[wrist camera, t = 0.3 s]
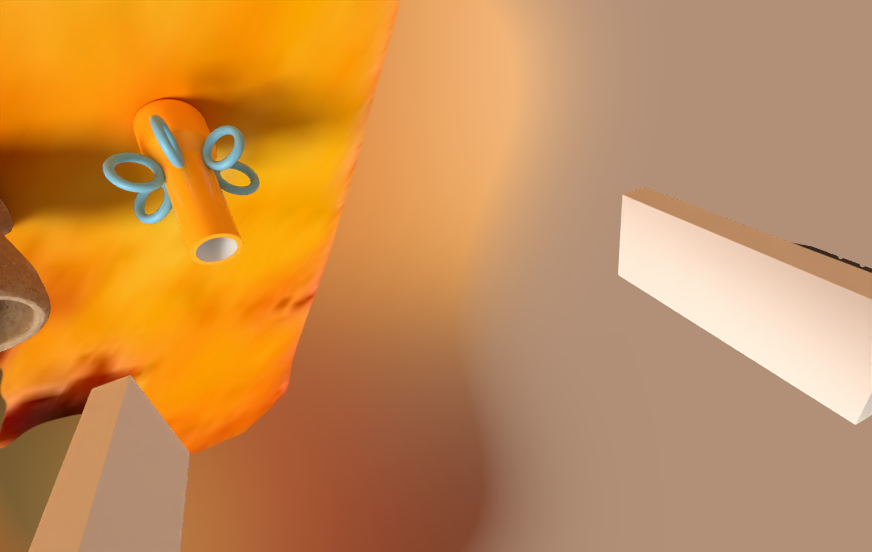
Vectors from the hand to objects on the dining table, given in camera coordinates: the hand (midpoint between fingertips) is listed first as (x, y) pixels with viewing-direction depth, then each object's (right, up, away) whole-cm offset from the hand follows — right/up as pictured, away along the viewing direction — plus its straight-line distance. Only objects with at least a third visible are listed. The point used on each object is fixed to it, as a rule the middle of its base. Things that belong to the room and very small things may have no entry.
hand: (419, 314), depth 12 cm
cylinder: (-24, +15, +30) cm, 41 cm away
